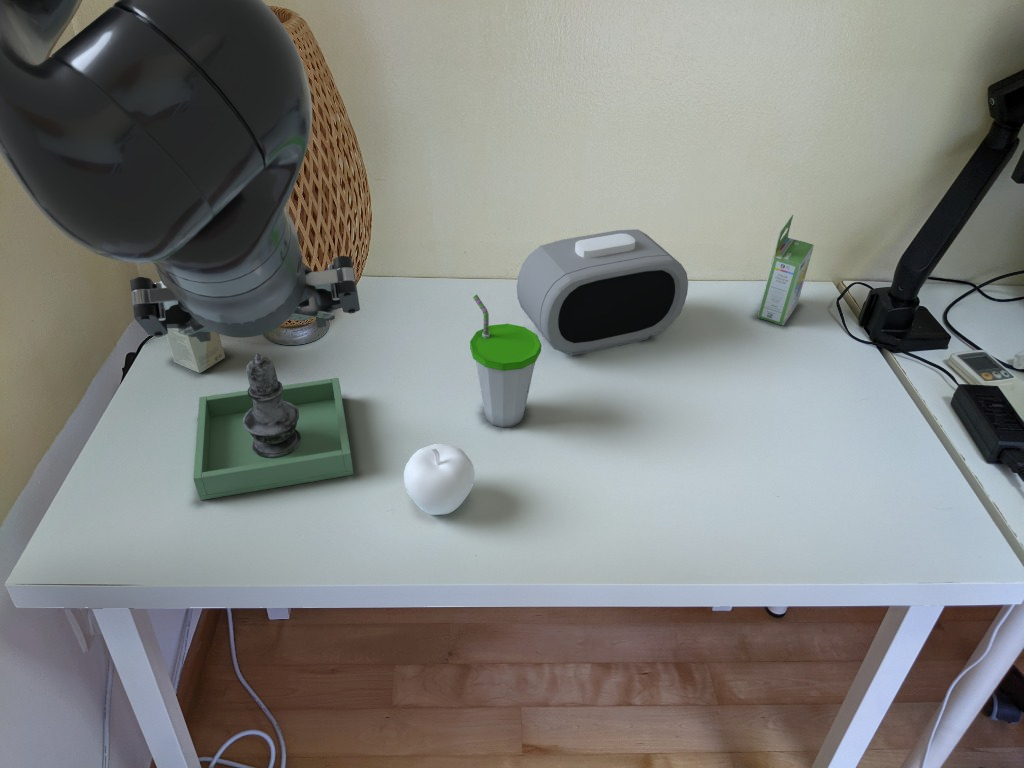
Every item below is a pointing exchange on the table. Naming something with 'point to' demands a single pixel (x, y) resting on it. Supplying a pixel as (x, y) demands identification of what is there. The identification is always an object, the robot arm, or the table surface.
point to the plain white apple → (439, 478)
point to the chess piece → (270, 412)
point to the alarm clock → (601, 290)
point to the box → (194, 349)
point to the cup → (504, 368)
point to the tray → (239, 469)
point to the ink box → (785, 278)
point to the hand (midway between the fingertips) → (263, 321)
